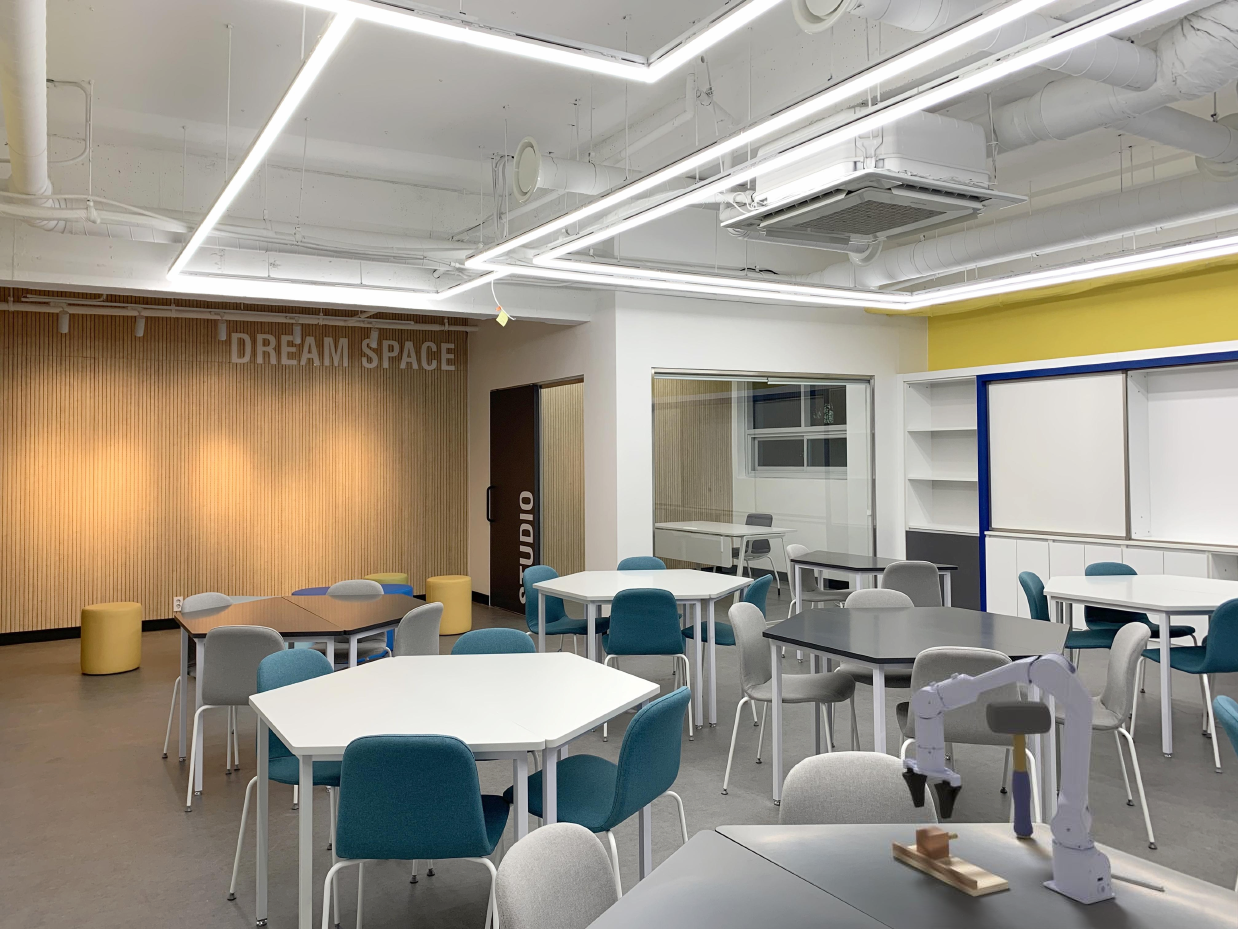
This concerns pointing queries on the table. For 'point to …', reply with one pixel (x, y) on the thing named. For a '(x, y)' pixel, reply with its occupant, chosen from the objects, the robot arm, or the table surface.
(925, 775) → the robot arm
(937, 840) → the brown wooden block
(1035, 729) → the rubber mallet
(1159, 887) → the pale grey thin rod
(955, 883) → the board
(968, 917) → the table surface
